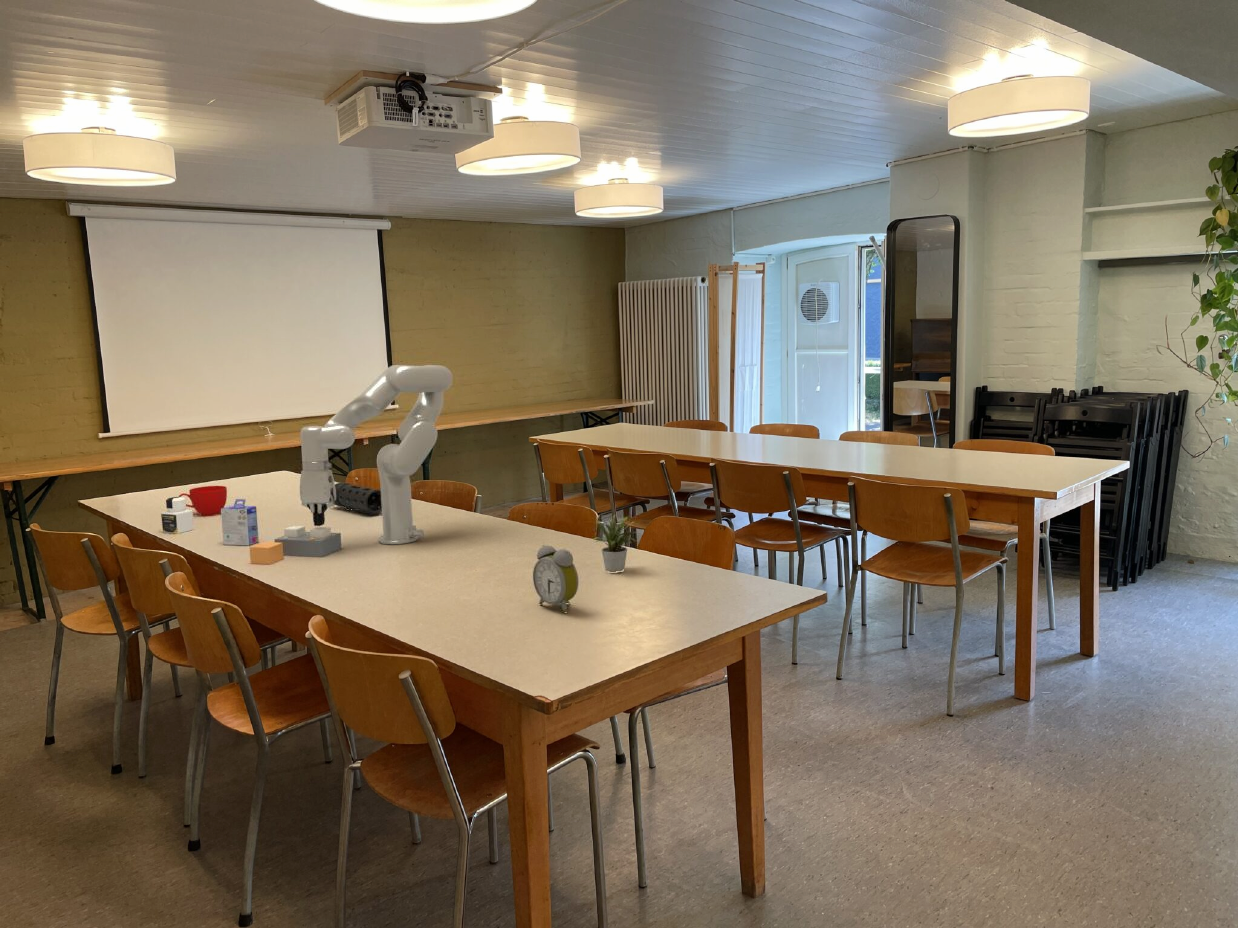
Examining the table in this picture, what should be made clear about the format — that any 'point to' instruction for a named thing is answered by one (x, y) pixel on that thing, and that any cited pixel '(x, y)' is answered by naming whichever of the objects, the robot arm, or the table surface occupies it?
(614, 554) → the house plant
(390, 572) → the table surface
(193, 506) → the ceramic cup
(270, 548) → the cap
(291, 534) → the white cube
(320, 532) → the block
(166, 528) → the medicine bottle
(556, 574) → the alarm clock
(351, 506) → the muzzle brake
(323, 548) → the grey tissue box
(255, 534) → the ink cartridge box
